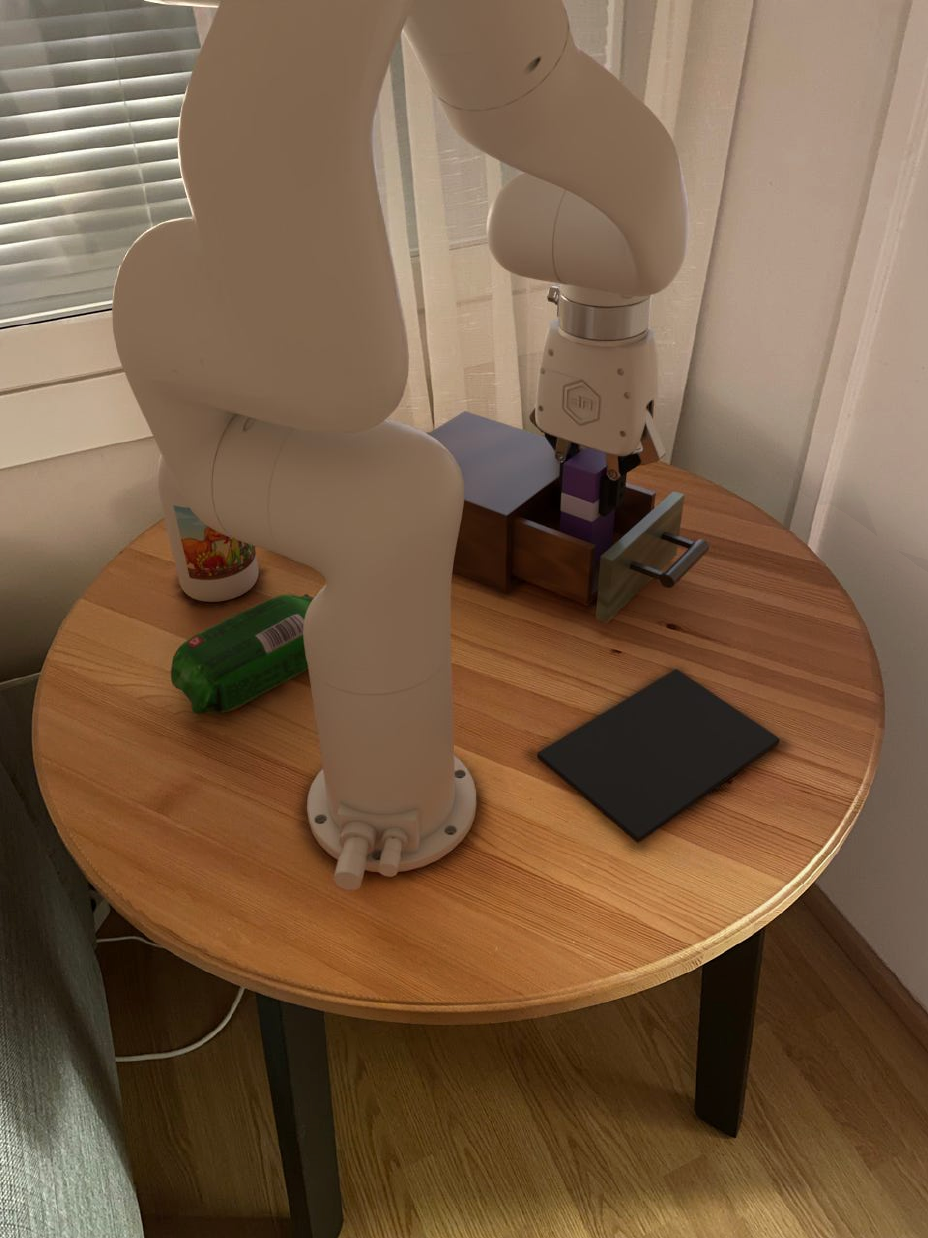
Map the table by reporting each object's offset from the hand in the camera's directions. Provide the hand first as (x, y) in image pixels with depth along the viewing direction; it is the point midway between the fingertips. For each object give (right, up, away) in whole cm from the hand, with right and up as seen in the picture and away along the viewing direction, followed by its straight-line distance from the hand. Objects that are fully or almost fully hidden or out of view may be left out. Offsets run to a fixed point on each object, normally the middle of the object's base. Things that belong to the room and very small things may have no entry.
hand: (590, 500), depth 94 cm
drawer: (+1, -6, +4) cm, 7 cm away
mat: (+4, -22, -15) cm, 26 cm away
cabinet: (-10, -2, +11) cm, 15 cm away
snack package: (-29, -16, -6) cm, 34 cm away
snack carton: (0, -5, +3) cm, 6 cm away
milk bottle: (-36, -8, +5) cm, 37 cm away
